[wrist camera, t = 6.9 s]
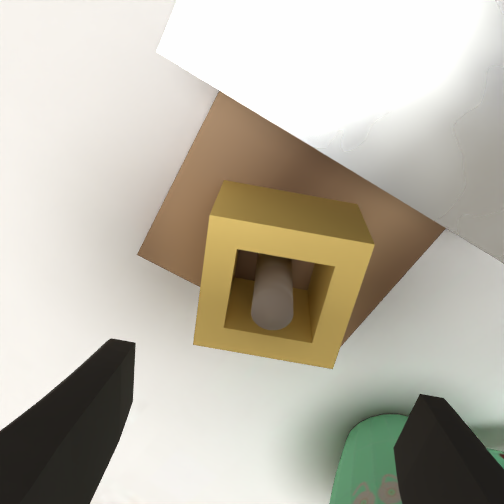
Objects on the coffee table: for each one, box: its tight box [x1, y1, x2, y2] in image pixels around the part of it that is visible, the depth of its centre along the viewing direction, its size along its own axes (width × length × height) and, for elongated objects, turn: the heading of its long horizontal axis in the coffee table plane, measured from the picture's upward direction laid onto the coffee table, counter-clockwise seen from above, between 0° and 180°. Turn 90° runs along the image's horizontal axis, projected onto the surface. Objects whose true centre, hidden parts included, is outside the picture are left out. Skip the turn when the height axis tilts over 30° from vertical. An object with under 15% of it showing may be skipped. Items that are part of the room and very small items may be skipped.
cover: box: [156, 0, 504, 263], centre depth 12 cm, size 12×7×7 cm, turn 60°
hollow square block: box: [193, 180, 375, 369], centre depth 16 cm, size 5×5×4 cm
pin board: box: [137, 91, 446, 347], centre depth 14 cm, size 10×16×6 cm, turn 150°
